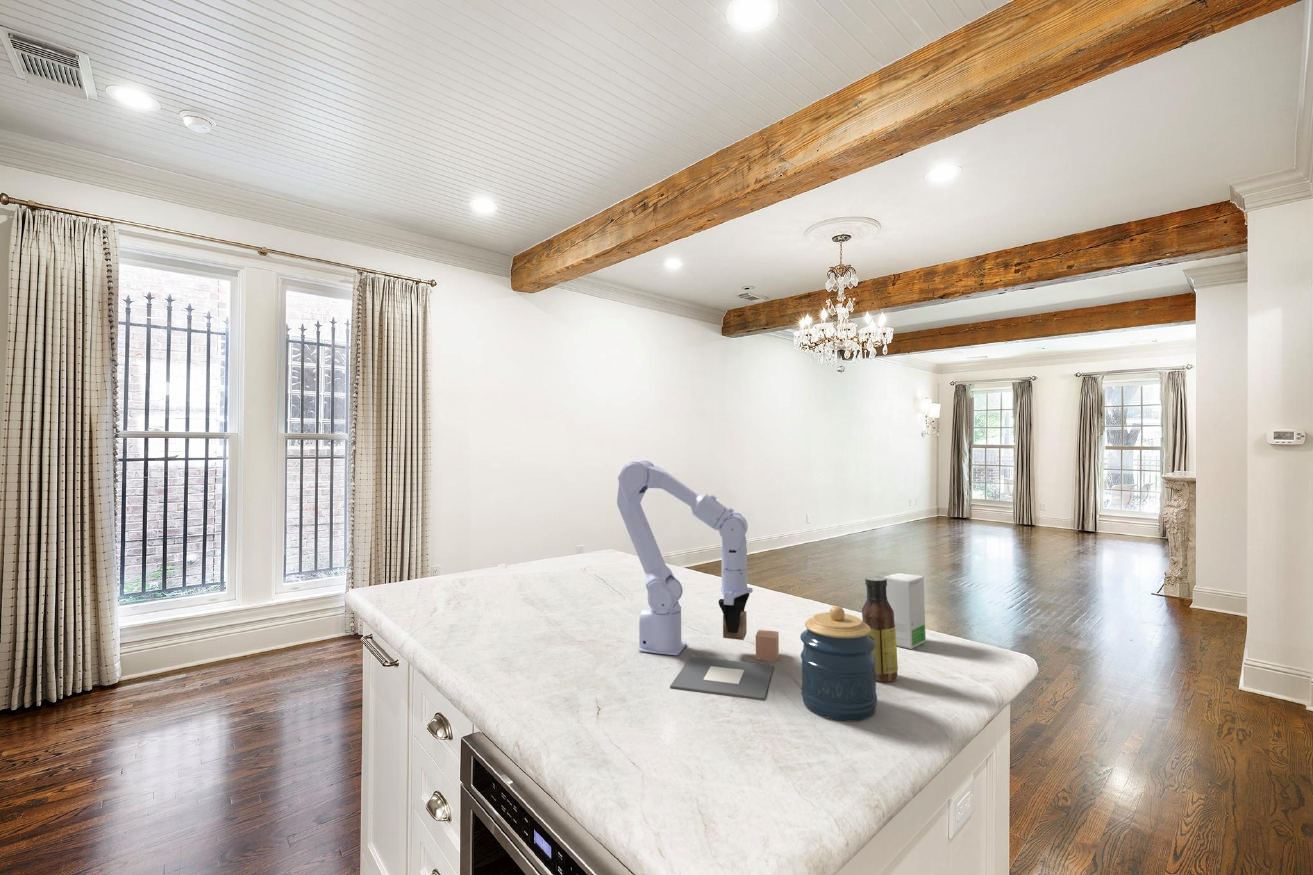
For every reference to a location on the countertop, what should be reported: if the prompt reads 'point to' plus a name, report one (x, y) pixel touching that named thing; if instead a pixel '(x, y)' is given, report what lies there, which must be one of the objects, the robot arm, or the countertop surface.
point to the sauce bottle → (881, 628)
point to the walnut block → (741, 630)
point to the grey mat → (724, 677)
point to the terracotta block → (767, 645)
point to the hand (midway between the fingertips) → (734, 628)
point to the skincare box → (907, 608)
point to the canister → (838, 666)
